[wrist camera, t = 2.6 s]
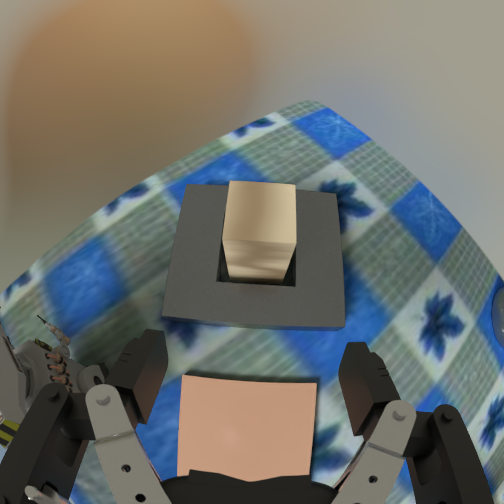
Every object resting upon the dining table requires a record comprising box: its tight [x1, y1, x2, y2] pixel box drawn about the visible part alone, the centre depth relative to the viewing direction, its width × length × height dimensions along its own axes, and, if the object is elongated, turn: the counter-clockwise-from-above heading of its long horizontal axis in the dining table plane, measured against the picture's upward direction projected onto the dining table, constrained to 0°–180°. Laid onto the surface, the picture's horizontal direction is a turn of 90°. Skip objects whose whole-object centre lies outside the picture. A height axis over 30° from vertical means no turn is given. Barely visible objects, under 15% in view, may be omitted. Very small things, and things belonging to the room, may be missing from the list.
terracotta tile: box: [177, 375, 317, 482], centre depth 20 cm, size 12×12×1 cm
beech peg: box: [222, 181, 296, 284], centre depth 24 cm, size 5×5×9 cm
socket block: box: [162, 184, 345, 331], centre depth 27 cm, size 16×14×2 cm
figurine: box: [0, 307, 109, 449], centre depth 15 cm, size 9×12×15 cm
